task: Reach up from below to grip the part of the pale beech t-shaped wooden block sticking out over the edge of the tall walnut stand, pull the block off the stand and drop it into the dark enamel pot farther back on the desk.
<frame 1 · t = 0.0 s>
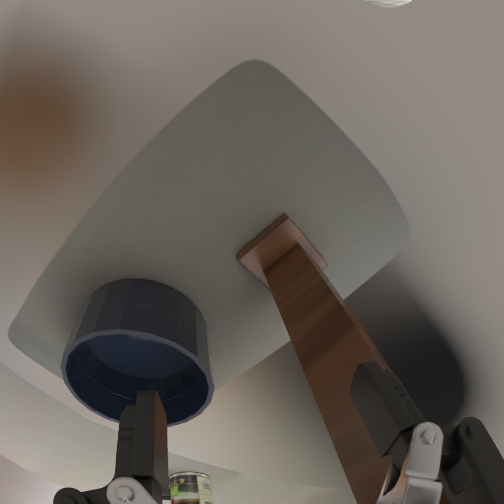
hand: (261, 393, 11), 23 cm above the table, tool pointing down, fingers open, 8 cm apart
stand: (282, 256, 36), on the table
pot: (142, 335, 37), on the table
coffee can: (189, 478, 60), on the table
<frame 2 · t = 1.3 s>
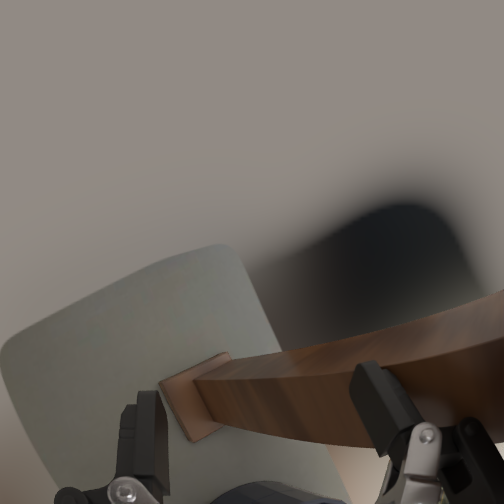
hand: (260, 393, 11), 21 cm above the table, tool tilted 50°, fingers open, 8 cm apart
stand: (205, 396, 30), on the table
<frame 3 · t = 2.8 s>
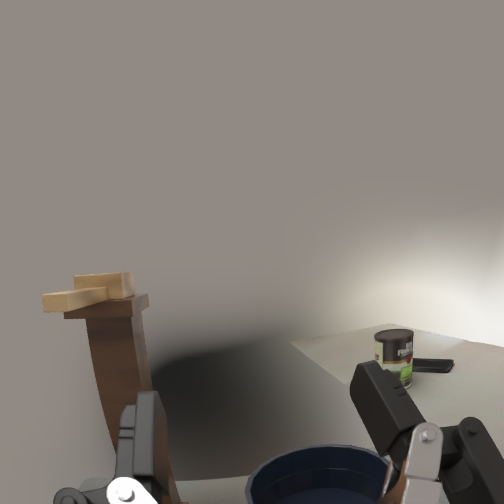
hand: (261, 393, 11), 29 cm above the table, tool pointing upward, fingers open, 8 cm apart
t-shaped wooden block: (94, 301, 25), point 32 cm above the table, touching stand
phone: (428, 367, 74), on the table
coffee can: (393, 384, 69), on the table
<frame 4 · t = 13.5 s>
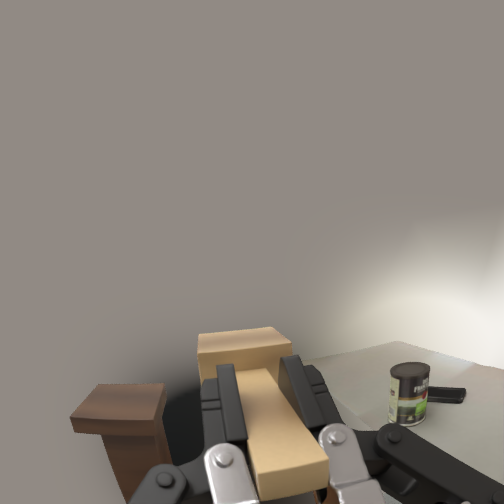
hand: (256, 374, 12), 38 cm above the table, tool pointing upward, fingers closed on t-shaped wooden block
t-shaped wooden block: (252, 396, 14), point 36 cm above the table, touching gripper
phone: (440, 396, 68), on the table
coffee can: (406, 417, 63), on the table
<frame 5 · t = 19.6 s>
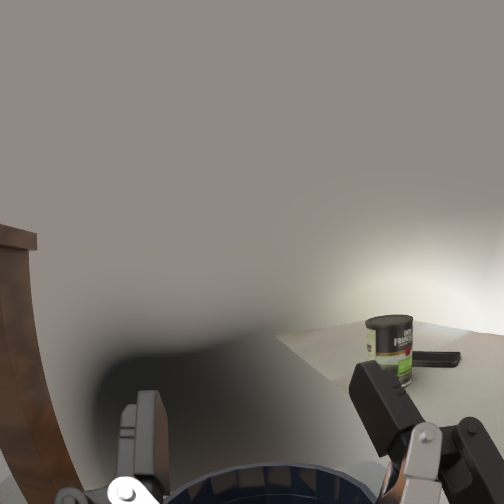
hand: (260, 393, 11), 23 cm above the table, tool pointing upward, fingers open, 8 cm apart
phone: (430, 361, 63), on the table
coffee can: (389, 382, 58), on the table
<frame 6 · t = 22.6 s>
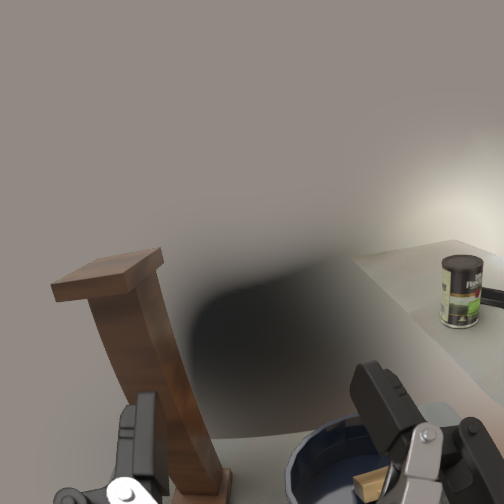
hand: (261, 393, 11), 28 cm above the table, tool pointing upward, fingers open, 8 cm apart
stand: (203, 495, 30), on the table
t-shaped wooden block: (389, 498, 21), point 5 cm above the table, tilted 42°, touching pot
phone: (495, 299, 61), on the table
pot: (364, 503, 25), on the table
coffee can: (459, 318, 59), on the table
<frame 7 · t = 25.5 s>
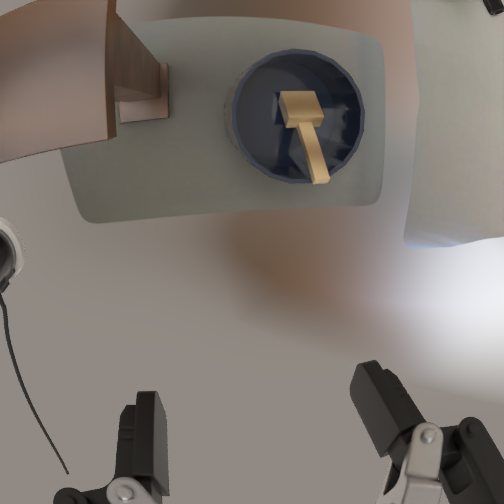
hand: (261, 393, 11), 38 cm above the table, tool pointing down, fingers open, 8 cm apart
stand: (144, 93, 37), on the table
t-shaped wooden block: (305, 132, 40), point 5 cm above the table, tilted 42°, touching pot
pot: (283, 113, 42), on the table
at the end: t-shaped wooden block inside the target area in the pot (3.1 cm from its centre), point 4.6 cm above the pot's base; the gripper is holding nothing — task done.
